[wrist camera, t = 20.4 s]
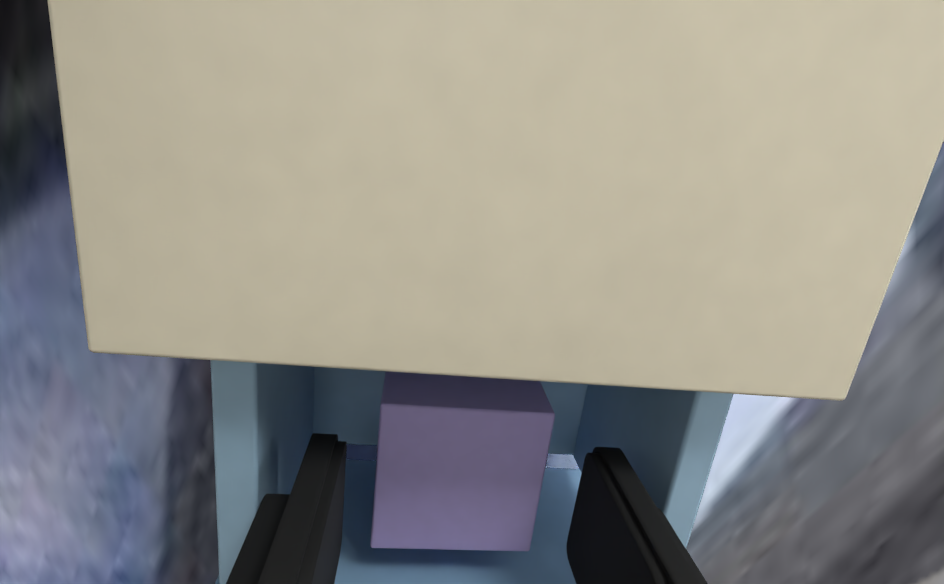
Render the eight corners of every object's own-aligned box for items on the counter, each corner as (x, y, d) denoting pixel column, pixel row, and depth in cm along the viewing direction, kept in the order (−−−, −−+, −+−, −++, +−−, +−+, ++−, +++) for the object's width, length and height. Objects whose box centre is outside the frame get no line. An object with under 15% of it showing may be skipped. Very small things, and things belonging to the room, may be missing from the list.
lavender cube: (505, 455, 17) (530, 552, 13) (382, 450, 16) (369, 549, 12) (523, 343, 15) (556, 414, 12) (391, 334, 15) (380, 404, 11)
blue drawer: (570, 586, 20) (640, 803, 14) (272, 582, 19) (193, 821, 12) (677, 114, 15) (873, 104, 8) (273, 59, 13) (134, -3, 7)
